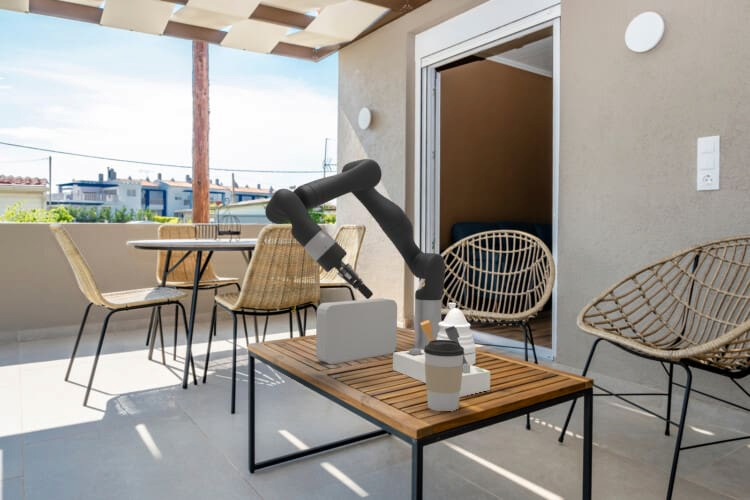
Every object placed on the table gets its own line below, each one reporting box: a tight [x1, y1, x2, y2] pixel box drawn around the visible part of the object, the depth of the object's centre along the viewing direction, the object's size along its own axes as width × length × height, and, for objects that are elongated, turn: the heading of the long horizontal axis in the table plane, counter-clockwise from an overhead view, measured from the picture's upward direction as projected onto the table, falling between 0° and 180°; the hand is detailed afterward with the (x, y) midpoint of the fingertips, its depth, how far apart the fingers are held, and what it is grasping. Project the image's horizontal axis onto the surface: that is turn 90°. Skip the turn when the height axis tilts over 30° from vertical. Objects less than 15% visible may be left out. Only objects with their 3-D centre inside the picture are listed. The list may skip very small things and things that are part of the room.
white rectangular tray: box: [392, 349, 491, 398], centre depth 136 cm, size 10×29×7 cm, turn 32°
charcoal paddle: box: [445, 326, 468, 364], centre depth 127 cm, size 2×4×11 cm, turn 3°
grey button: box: [408, 347, 421, 356], centre depth 145 cm, size 3×3×3 cm
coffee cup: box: [424, 340, 464, 412], centre depth 113 cm, size 9×9×15 cm
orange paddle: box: [420, 320, 434, 341], centre depth 136 cm, size 2×4×11 cm, turn 3°
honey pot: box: [436, 302, 477, 366], centre depth 157 cm, size 13×13×18 cm
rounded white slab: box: [315, 297, 398, 365], centre depth 161 cm, size 29×8×18 cm, turn 129°
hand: (370, 296), depth 135 cm, fingers closed
